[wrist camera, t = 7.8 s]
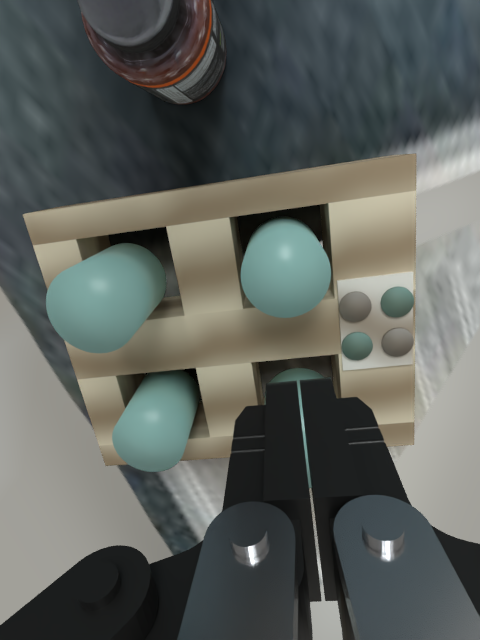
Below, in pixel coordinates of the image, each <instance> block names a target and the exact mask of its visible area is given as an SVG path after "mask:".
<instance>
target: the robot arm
mask: <svg viewBox="0 0 480 640" xmlns="http://www.w3.org/2000/svg"><path fill="white" fill-rule="evenodd" d="M300 390H301V399H302V408H303V418H304V427H305V436H306V445H307V454H308V462H309V470H310V479H311V487H312V495H313V503H314V511H315V520H316V528H317V536H318V544H319V552H320V561H321V569H322V577H323V585H324V593H325V600H326V601H338V606H339V613H340V620H341V627H342V635H343V640H480V544H477V543H473V542H468V541H465V540H461V539H457V538H455V537H452V536H450V535H447V534H445V533H443V532H441V531H440V530H438V529H436V528H435V527H433V526H431V525H430V523H429V522H428V520H427V519H426V518H425V517H424V516H423V515H422V514H421V513H420V512H419V511H418V510H417V509H416V508H414V507H412V505H411V504H410V502H409V500H408V498H407V495H406V493H405V490H404V488H403V485H402V483H401V480H400V478H399V475H398V473H397V470H396V468H395V465H394V463H393V460H392V458H391V455H390V453H389V450H388V448H387V446H386V443H384V438H383V436H382V433H381V431H380V429H379V427H378V423H377V421H376V418H375V416H374V413H373V411H372V409H371V408H370V407H369V406H367V405H366V404H365V403H364V402H363V401H361V400H360V399H359V398H358V397H348V398H336V395H335V391H334V387H333V384H332V380H331V377H328V378H317V379H306V380H300ZM313 601H321V592H320V583H319V574H318V565H317V556H316V547H315V538H314V529H313V520H312V511H311V502H310V493H309V484H308V476H307V467H306V458H305V449H304V440H303V431H302V423H301V414H300V405H299V396H298V387H297V380H296V381H285V382H274V383H266V405H255V406H246V407H245V408H244V409H243V411H242V412H241V413H240V415H239V416H238V417H237V419H236V420H235V425H234V432H233V440H232V447H231V454H230V461H229V468H228V475H227V482H226V489H225V496H224V503H223V510H222V512H221V513H220V514H219V515H218V516H217V517H216V518H215V519H214V520H213V521H212V522H211V524H210V525H209V527H208V529H207V531H206V534H205V536H204V540H203V541H202V542H200V543H199V544H197V545H196V546H194V547H193V548H191V549H189V550H187V551H184V552H182V553H180V554H177V555H174V556H171V557H168V558H165V559H163V560H160V561H157V562H154V563H151V564H148V561H147V559H146V557H145V556H144V555H143V554H142V553H141V552H140V551H138V550H137V549H135V548H132V547H129V546H111V547H107V548H103V549H100V550H98V551H96V552H93V553H92V554H90V555H88V556H86V557H85V558H84V559H82V560H81V561H79V562H78V563H77V564H76V565H74V566H73V567H72V568H71V569H69V570H68V571H67V572H66V573H64V574H63V575H62V576H61V577H59V578H58V579H57V580H56V581H54V582H53V583H52V584H51V585H50V586H48V587H47V588H46V589H45V590H43V591H42V592H41V593H40V594H38V595H37V596H36V597H35V598H34V599H32V600H31V601H30V602H29V603H27V604H26V605H25V606H24V607H22V608H21V609H20V610H19V611H17V612H16V613H15V614H14V615H13V616H11V617H10V618H9V619H8V620H6V621H5V622H4V623H3V624H2V625H0V640H312V623H311V610H310V602H313Z"/></svg>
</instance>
